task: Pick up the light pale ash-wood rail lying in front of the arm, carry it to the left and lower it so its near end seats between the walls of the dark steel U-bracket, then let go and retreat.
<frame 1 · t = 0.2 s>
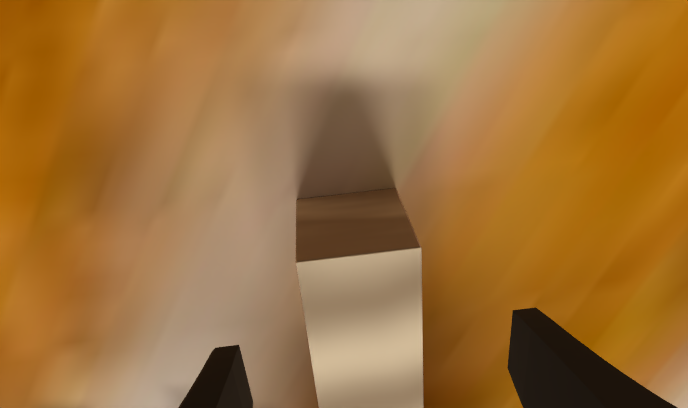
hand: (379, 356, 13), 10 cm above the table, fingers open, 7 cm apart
rail: (359, 330, 25), on the table
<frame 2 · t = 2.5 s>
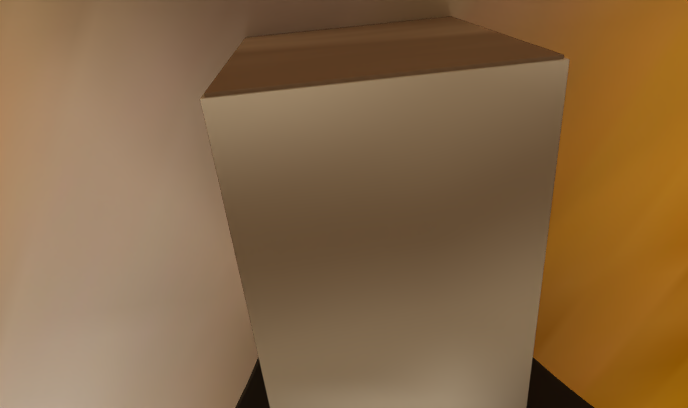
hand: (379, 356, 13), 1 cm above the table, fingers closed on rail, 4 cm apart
rail: (371, 319, 14), on the table, touching gripper
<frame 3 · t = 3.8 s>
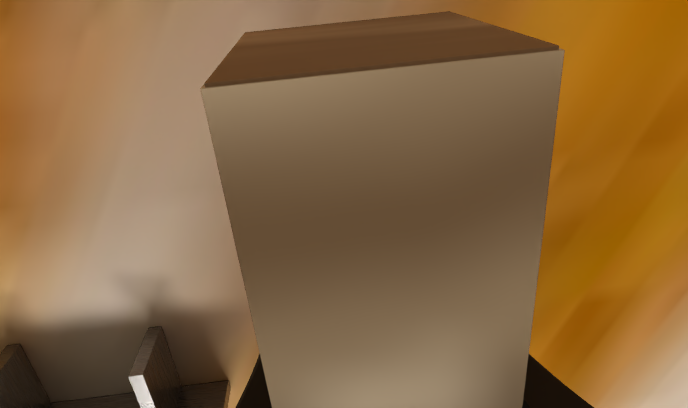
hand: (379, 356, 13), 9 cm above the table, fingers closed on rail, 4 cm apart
bracket: (98, 368, 23), on the table
rail: (370, 314, 14), point 7 cm above the table, touching gripper
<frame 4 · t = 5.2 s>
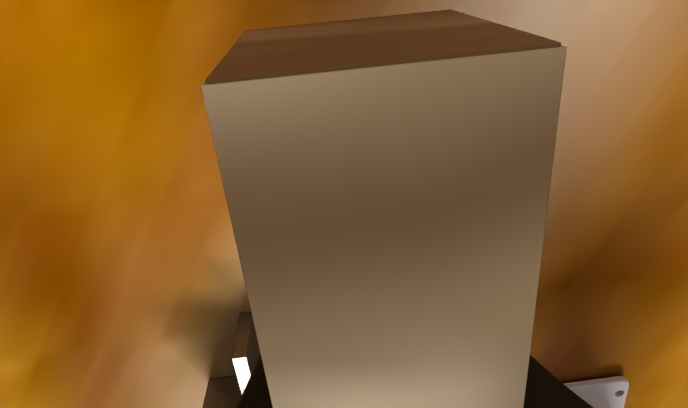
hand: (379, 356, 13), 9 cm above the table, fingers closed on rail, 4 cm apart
bracket: (318, 336, 24), on the table
rail: (371, 313, 14), point 8 cm above the table, touching gripper
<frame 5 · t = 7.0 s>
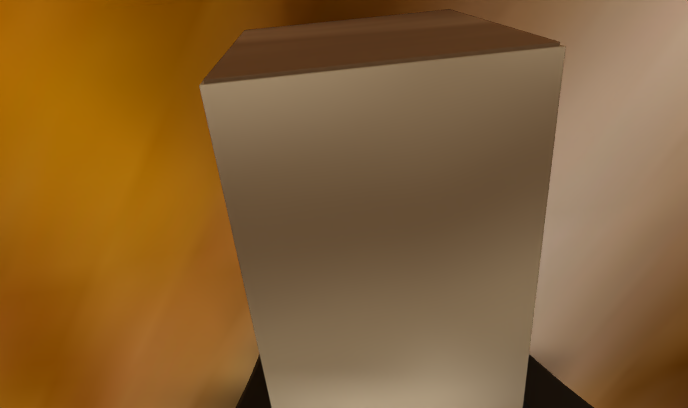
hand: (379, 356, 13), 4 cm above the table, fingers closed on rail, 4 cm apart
rail: (370, 313, 14), point 2 cm above the table, touching gripper
when the fingers open (3 cm above the table, at t = 8.2 s): rail drops 1 cm, on the table.
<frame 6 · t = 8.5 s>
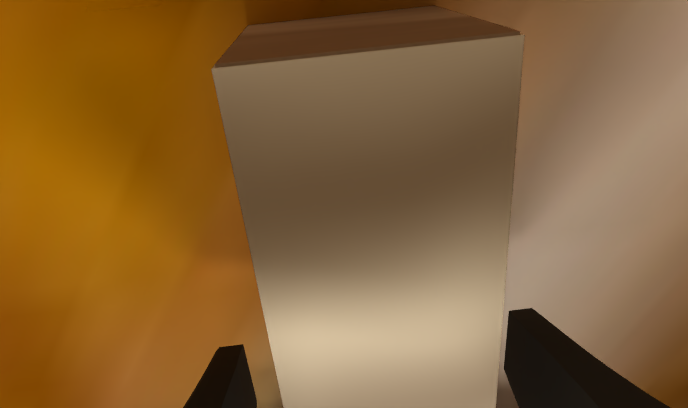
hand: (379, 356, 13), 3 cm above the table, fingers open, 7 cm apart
rail: (365, 290, 15), on the table
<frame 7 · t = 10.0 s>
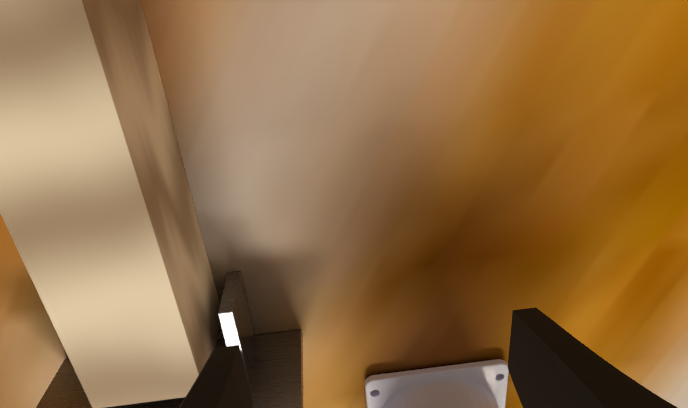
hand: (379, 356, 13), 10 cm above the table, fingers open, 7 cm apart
bracket: (175, 315, 24), on the table
rail: (130, 172, 20), on the table
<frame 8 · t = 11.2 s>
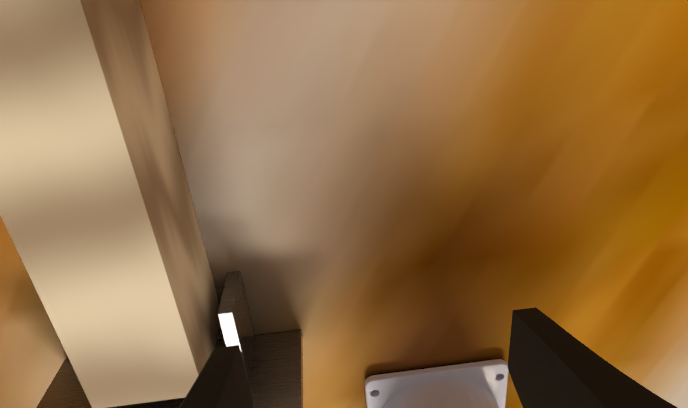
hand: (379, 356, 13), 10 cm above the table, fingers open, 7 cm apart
bracket: (174, 315, 24), on the table
rail: (130, 173, 20), on the table
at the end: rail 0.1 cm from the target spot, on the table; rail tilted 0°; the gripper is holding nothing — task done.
